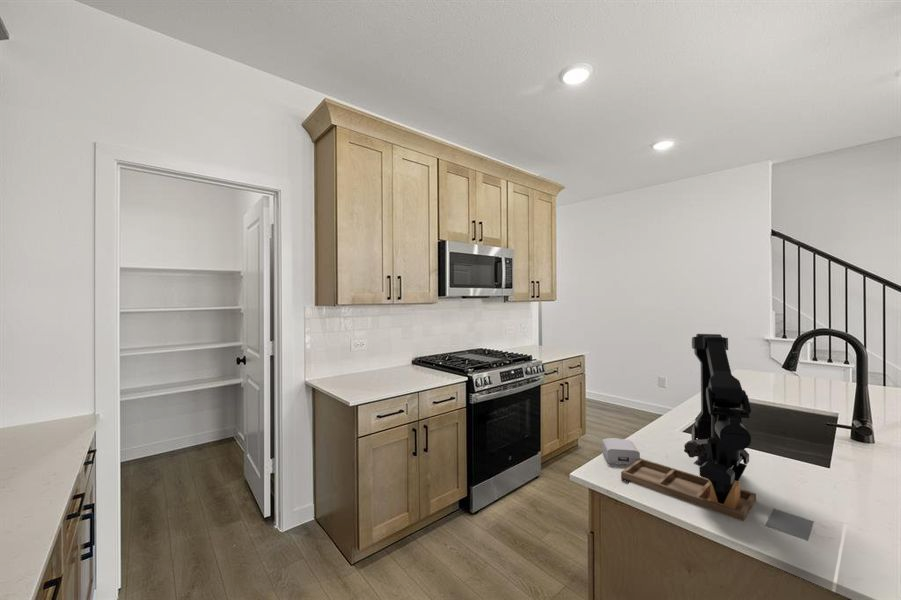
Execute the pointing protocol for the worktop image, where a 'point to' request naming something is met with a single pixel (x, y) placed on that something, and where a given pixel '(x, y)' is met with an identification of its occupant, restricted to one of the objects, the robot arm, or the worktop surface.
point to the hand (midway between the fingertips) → (725, 497)
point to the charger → (620, 451)
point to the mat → (790, 524)
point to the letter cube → (732, 497)
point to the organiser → (684, 487)
